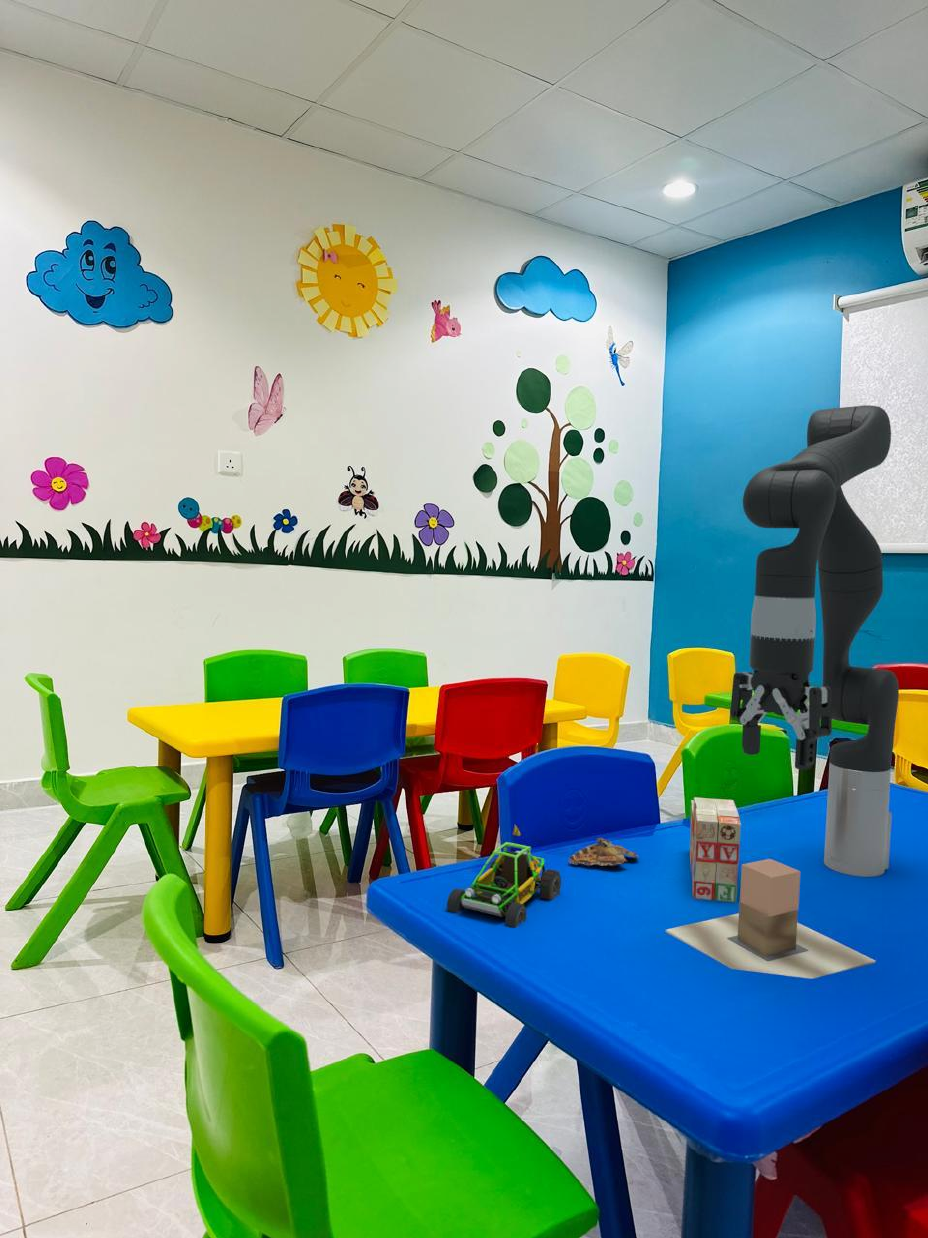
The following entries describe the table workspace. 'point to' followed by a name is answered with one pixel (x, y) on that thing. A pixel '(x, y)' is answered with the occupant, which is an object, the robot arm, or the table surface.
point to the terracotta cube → (770, 887)
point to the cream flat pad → (806, 961)
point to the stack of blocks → (714, 849)
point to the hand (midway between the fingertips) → (776, 761)
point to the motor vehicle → (507, 885)
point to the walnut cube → (767, 930)
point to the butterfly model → (601, 854)
